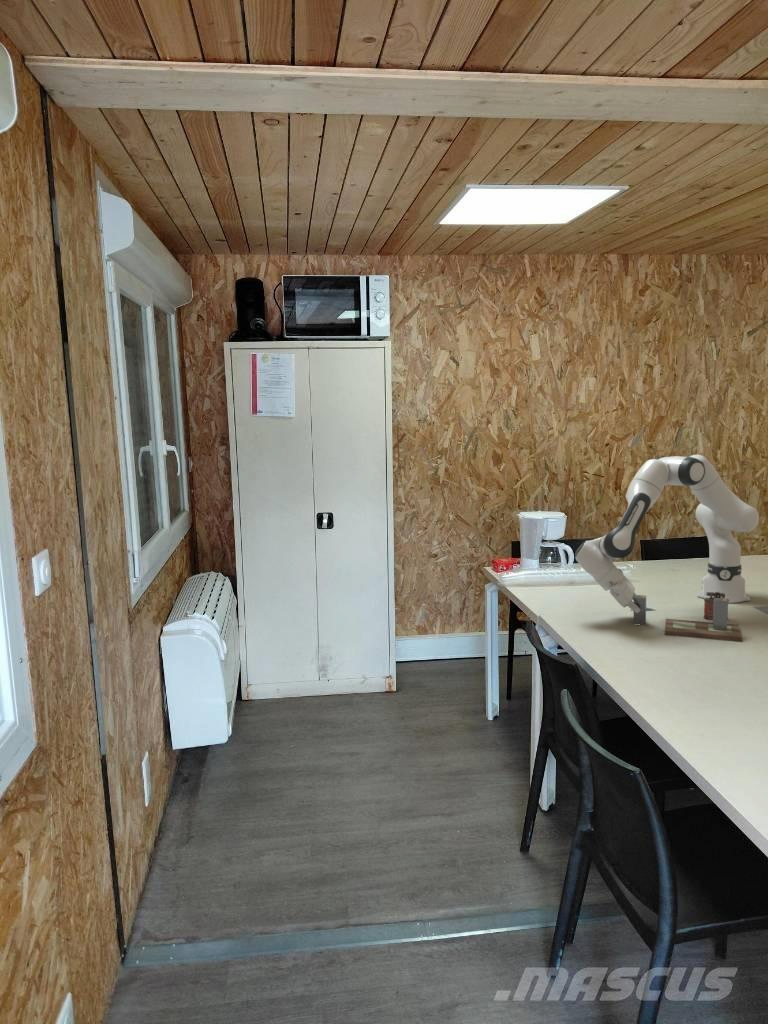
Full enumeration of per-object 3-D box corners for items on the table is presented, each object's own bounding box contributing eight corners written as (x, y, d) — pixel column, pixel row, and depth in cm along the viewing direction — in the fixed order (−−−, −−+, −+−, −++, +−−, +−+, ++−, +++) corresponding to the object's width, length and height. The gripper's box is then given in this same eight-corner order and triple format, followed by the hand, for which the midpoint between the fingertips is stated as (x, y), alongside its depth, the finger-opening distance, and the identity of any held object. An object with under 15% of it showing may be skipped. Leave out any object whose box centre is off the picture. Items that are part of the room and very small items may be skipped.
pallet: (665, 622, 236) (665, 618, 236) (738, 628, 227) (738, 623, 227) (664, 634, 224) (664, 629, 224) (741, 641, 214) (741, 636, 214)
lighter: (726, 618, 239) (727, 591, 238) (729, 620, 236) (730, 593, 235) (702, 617, 241) (703, 590, 240) (704, 619, 238) (705, 592, 237)
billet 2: (712, 626, 226) (713, 597, 224) (726, 627, 224) (727, 597, 223) (713, 629, 222) (714, 600, 221) (726, 630, 220) (727, 601, 219)
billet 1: (634, 621, 239) (634, 594, 238) (645, 622, 237) (646, 595, 236) (633, 624, 235) (633, 597, 234) (645, 625, 234) (645, 597, 232)
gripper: (615, 580, 228) (645, 610, 225) (620, 567, 246) (647, 595, 244) (601, 592, 230) (631, 621, 228) (607, 578, 249) (634, 605, 246)
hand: (639, 607), depth 236 cm, fingers open, 8 cm apart
